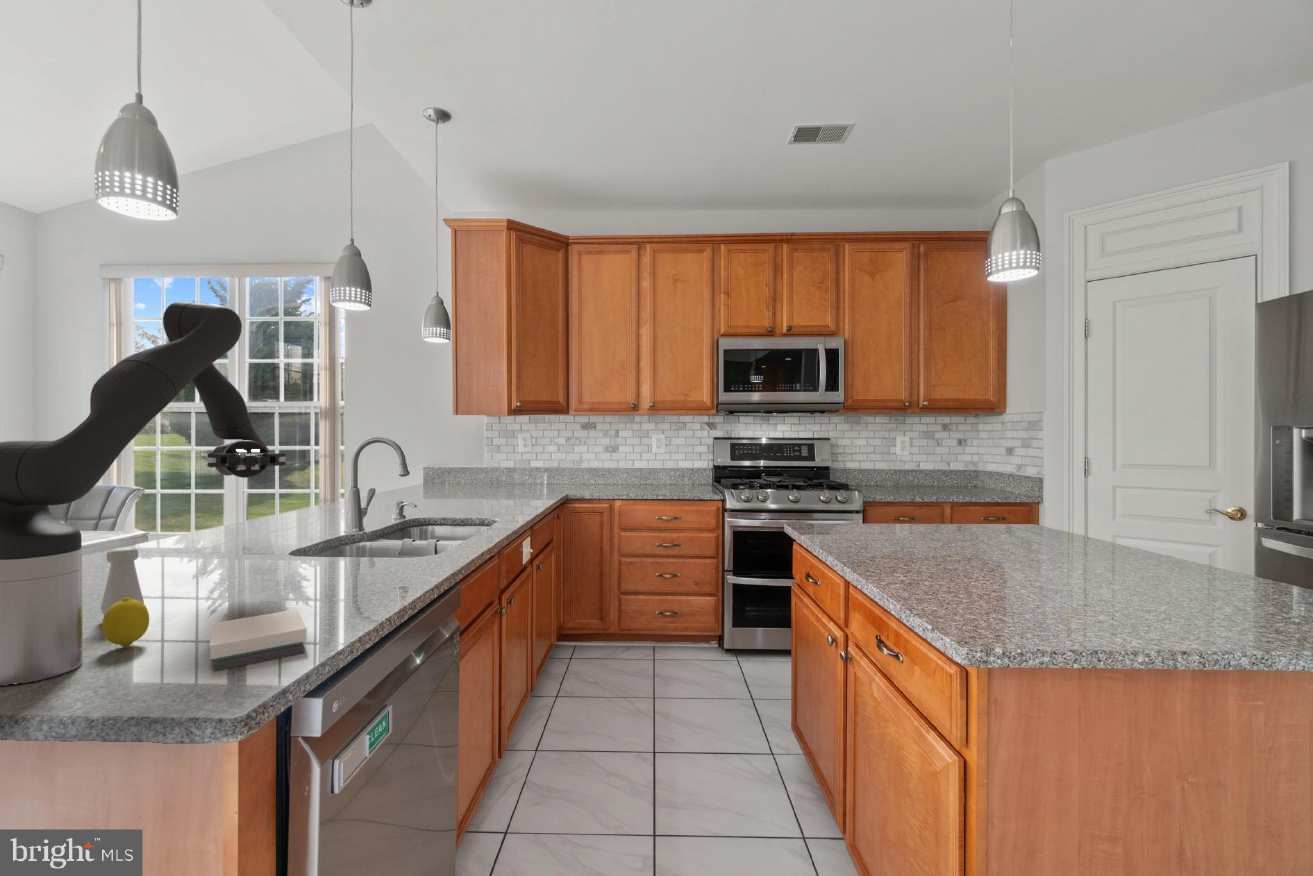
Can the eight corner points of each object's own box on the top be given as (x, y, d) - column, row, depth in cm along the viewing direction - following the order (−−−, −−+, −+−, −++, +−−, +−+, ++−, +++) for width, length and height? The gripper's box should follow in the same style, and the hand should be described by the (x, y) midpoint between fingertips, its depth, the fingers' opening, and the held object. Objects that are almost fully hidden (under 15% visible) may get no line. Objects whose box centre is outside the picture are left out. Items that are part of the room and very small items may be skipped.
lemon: (120, 655, 87) (120, 603, 87) (92, 652, 89) (92, 601, 88) (158, 642, 93) (158, 593, 93) (131, 639, 94) (131, 591, 94)
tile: (209, 639, 92) (210, 663, 82) (209, 623, 92) (210, 645, 82) (297, 623, 99) (306, 643, 90) (297, 609, 99) (306, 628, 90)
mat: (214, 671, 82) (214, 664, 82) (214, 648, 91) (214, 641, 91) (303, 652, 89) (303, 646, 89) (295, 632, 97) (295, 627, 97)
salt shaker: (135, 621, 103) (134, 550, 103) (94, 625, 101) (93, 552, 100) (149, 612, 108) (149, 544, 108) (111, 615, 106) (110, 546, 106)
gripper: (204, 440, 112) (204, 440, 99) (283, 440, 121) (293, 440, 107) (204, 477, 112) (204, 483, 99) (283, 475, 121) (293, 480, 107)
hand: (250, 461), depth 103 cm, fingers closed
